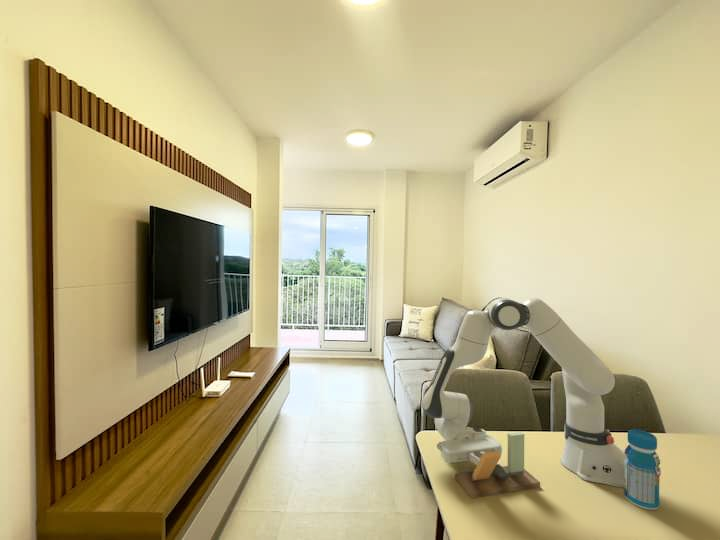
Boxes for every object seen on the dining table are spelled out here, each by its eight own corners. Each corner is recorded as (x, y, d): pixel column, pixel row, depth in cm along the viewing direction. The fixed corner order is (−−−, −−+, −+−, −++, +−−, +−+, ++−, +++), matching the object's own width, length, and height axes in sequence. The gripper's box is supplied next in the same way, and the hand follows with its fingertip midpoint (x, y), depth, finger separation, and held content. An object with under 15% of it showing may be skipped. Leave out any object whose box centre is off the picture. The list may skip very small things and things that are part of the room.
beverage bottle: (636, 510, 97) (636, 440, 97) (617, 490, 106) (617, 426, 105) (668, 512, 96) (669, 442, 96) (646, 492, 105) (646, 428, 105)
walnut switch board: (518, 468, 117) (518, 464, 117) (540, 487, 107) (540, 482, 107) (455, 477, 112) (455, 473, 112) (471, 497, 102) (471, 493, 102)
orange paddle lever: (485, 475, 110) (498, 451, 103) (487, 480, 109) (501, 456, 102) (470, 477, 109) (483, 453, 102) (473, 482, 108) (485, 458, 101)
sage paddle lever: (521, 471, 113) (521, 431, 112) (524, 474, 111) (524, 434, 111) (507, 473, 111) (507, 433, 111) (510, 476, 110) (510, 435, 110)
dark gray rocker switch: (498, 469, 113) (499, 464, 113) (508, 481, 108) (509, 475, 108) (490, 471, 112) (490, 465, 112) (499, 483, 107) (500, 476, 107)
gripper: (434, 434, 118) (453, 457, 104) (487, 428, 122) (512, 449, 108) (434, 452, 118) (453, 477, 104) (487, 445, 122) (512, 469, 109)
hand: (483, 463), depth 106 cm, fingers closed, pressing on orange paddle lever
